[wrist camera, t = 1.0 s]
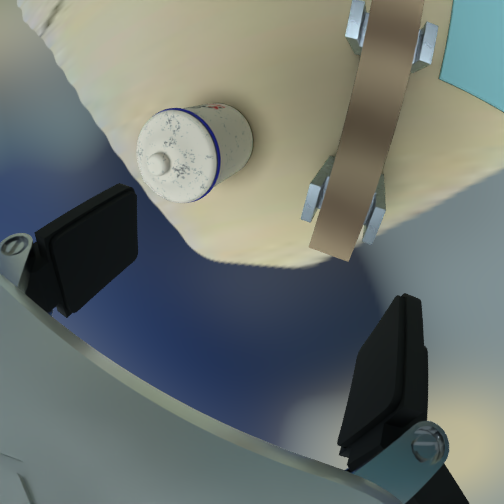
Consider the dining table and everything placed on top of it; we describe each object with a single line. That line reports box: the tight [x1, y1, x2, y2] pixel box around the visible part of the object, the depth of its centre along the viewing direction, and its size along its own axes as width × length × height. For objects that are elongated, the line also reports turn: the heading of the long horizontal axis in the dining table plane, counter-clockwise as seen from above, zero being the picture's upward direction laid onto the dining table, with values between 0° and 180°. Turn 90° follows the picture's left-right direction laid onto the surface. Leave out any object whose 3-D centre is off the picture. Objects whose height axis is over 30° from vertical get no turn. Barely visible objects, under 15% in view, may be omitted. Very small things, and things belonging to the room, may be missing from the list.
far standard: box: [301, 156, 386, 245], centre depth 26 cm, size 3×6×10 cm, turn 80°
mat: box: [439, 0, 504, 112], centre depth 14 cm, size 22×8×1 cm, turn 170°
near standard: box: [345, 0, 438, 73], centre depth 18 cm, size 3×6×10 cm, turn 80°
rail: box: [309, 0, 424, 261], centre depth 19 cm, size 20×3×4 cm, turn 170°
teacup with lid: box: [137, 103, 253, 203], centre depth 29 cm, size 12×9×12 cm
